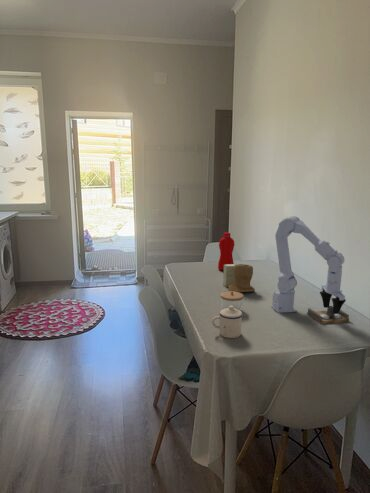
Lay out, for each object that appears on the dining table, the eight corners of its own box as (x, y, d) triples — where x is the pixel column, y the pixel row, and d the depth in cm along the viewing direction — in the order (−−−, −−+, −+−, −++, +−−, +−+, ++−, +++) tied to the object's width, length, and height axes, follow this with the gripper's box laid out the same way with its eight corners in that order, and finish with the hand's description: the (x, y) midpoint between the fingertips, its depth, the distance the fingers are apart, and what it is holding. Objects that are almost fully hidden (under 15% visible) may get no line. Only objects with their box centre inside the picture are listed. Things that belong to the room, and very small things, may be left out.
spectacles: (322, 319, 161) (323, 309, 160) (313, 313, 169) (313, 303, 168) (343, 318, 163) (344, 307, 162) (333, 311, 171) (334, 301, 170)
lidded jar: (216, 307, 177) (216, 289, 175) (235, 305, 181) (236, 286, 179) (226, 316, 167) (227, 296, 165) (247, 313, 171) (248, 293, 169)
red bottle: (236, 268, 248) (237, 232, 243) (229, 272, 239) (230, 234, 234) (223, 266, 253) (225, 230, 248) (216, 270, 244) (217, 232, 239)
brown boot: (250, 287, 210) (251, 261, 206) (257, 294, 198) (258, 266, 195) (224, 287, 207) (225, 262, 204) (229, 294, 196) (230, 267, 193)
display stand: (320, 323, 160) (320, 317, 159) (307, 314, 170) (307, 308, 170) (348, 321, 163) (349, 315, 162) (334, 312, 173) (334, 306, 173)
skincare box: (225, 287, 209) (226, 266, 206) (222, 284, 213) (223, 264, 211) (235, 286, 210) (236, 265, 208) (232, 284, 215) (233, 263, 212)
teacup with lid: (239, 329, 154) (240, 302, 151) (243, 338, 145) (244, 310, 142) (210, 328, 153) (211, 302, 151) (212, 338, 145) (213, 310, 142)
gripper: (352, 285, 155) (349, 316, 157) (332, 275, 169) (329, 304, 171) (337, 286, 153) (334, 317, 156) (318, 276, 167) (315, 305, 170)
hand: (330, 310), depth 164 cm, fingers open, 7 cm apart
